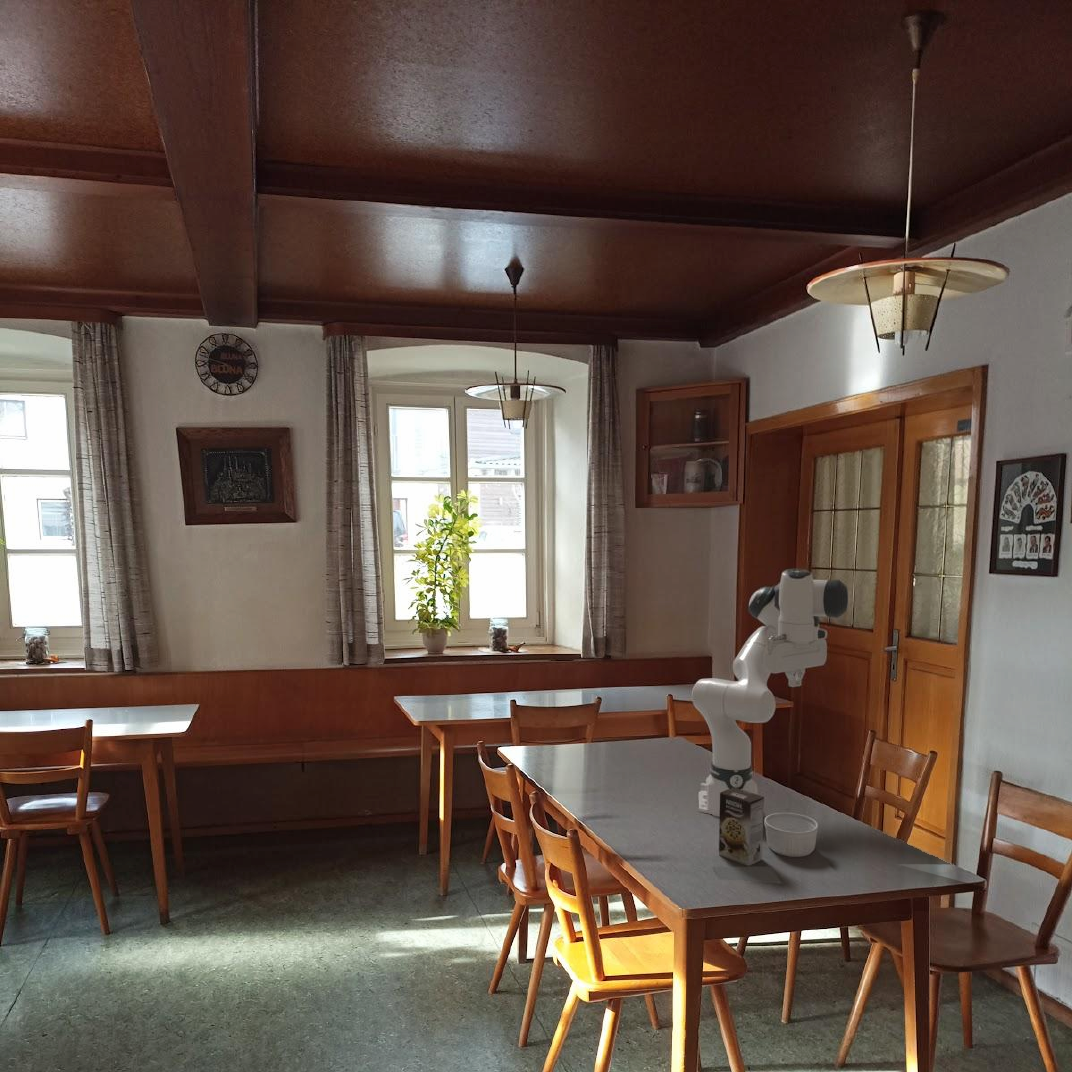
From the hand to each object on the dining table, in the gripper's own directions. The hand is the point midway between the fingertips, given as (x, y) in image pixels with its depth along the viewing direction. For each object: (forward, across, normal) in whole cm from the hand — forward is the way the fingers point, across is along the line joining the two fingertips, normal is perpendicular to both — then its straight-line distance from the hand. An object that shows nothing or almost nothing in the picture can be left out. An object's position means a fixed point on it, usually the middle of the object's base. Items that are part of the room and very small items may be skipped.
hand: (794, 686), depth 220 cm
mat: (+41, -25, -8) cm, 49 cm away
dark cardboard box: (+41, -18, +1) cm, 45 cm away
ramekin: (+41, -3, -2) cm, 42 cm away
